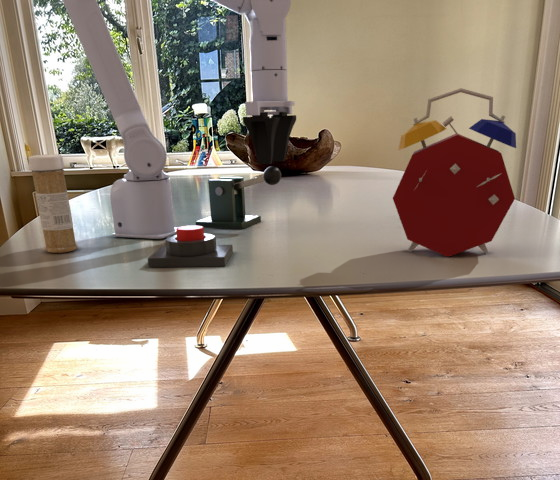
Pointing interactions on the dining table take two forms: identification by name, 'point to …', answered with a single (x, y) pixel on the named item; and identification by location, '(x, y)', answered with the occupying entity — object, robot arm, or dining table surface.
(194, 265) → the button box
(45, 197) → the sprinkles bottle
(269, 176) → the lever
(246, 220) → the bracket
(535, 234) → the dining table surface
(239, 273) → the dining table surface
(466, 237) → the alarm clock
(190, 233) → the button
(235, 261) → the dining table surface
